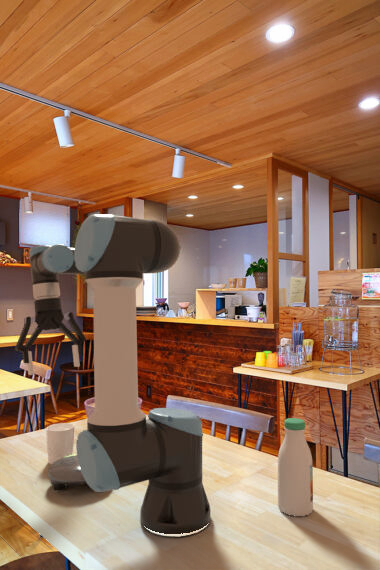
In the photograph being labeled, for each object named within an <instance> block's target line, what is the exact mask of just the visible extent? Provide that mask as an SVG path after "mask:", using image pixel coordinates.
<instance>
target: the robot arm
mask: <svg viewBox="0 0 380 570" xmlns="http://www.w3.org/2000/svg"><path fill="white" fill-rule="evenodd" d="M180 243H181V242H180V240H179V236H178V235H177V233H176V232H175V231H174V229H173V228H171V226H169V225H168V224H166V223H165V222H161V221H158V220H156V219H155V220H154V219H146V218H138V217H132V216H131V217H130V216H123V215H116V214H112V213H109V214H100V213H99V214H96V213H95V214H91V215H89V216H88V217H86V218H85V219H84V220H83V222H82V223H81V225H80V228H79V230H78V232H77V234H76V239H75V244H74V247H69V246H68V245H65V244H62V243H57V244H53V245H37V246H33V247H31V248H30V249H29V258H28V261H29V264H30V272H31V275H30V276H31V283H32V292H33V293H32V294H33V299H35V300H34V302H33V303H34V304H33V305H34V312H35V313H34V314H35V316H25V317H24V321H23V322H24V323H23V328H22V329H21V332H20V335H19V338H18V339H17V342H16V345H15V348H14V350H15V351H16V352H17V351H18V352H21V353H22V359H23V364H26V365H27V366H26V367H27V373H28V375H29V376H33V375H34V373H35V372H34V364H33V354H32V351H29V350H30V349H31V348H32V346H33V344H34V343H35V342H36V340H37V339H38V337H39V336H40V334H41V333H42V332H44V331H51V330H57V329H58V330H59V331H61V333H63V334H64V336H66V337H67V338H68V339H69V340H70V341H71V342H72V343H73V345H71V349H72V358H73V366H74V368H75V367H77V368H78V367H80V366H81V364H80V355H82V347H81V346H82V345H81V344H82V343H84V342H86V341H87V338H86V336H85V334H84V333H83V331H82V330H81V328H80V327H79V325H78V323H77V322H76V320H75V317H74V313H73V312H71V311H70V312H66V313H63V311H62V310H63V308H62V300H61V298H60V296H61V290H60V279H59V275H80V276H82V275H85V283H86V284H87V285H88V286H89V287H90V288H91V289H92V291H93V292H92V293H93V294H92V296H93V297H92V298H93V299H92V300H93V361H94V363H93V364H94V366H93V372H94V373H93V374H94V376H93V377H94V378H93V379H94V397H95V410H94V412H93V413H92V414H91V415H90V416H89V417H88V418H86V420H87V421H86V423H87V424H86V426H87V428H86V429H84V430H82V431H80V432H79V433H78V435H77V437H76V438H77V439H76V443H75V447H76V448H75V450H76V455H77V457H78V462H79V466H80V469H81V472H82V474H83V477H84V479H85V481H86V482H87V486H88V487H90V489H91V490H93V491H94V492H96V493H97V492H98V493H103V492H108V491H118V490H120V489H121V488H126V487H128V486H132V485H136V484H139V483H143V482H147V481H148V484H147V488H146V491H145V493H144V497H143V501H142V505H141V507H140V513H139V514H140V519H139V521H140V522H139V523H140V525H141V527H143V526H145V527H146V528H148V529H150V530H152V531H155V532H159V533H164V534H181V533H182V534H183V533H190V532H193V531H196V530H199V529H201V528H203V527H204V526H206V525H207V524H208V523H209V521H210V522H211V506H210V503H209V499H208V495H207V493H206V489H205V488H204V484H203V437H204V433H203V422H202V419H201V417H200V416H199V414H197V413H194V412H192V411H189V410H185V409H180V408H173V407H172V408H169V407H158V408H157V407H156V408H152V409H150V410H149V411H148V415H147V414H146V413H145V412H144V411H143V410H142V409H141V408H139V407H138V397H139V384H138V383H139V381H138V342H137V341H138V339H137V338H138V337H137V336H138V334H137V333H138V332H137V327H138V325H137V324H138V323H137V288H138V287H139V286H140V285H141V284H142V283H143V281H144V275H143V274H159V273H163V272H166V271H168V270H169V269H171V268H172V267H173V266H174V265H175V264H176V262H177V261H178V259H179V258H180V253H181V244H180ZM64 319H65V321H67V323H68V324H69V326H70V327H71V329H72V330H73V332H74V333H75V334H74V333H73V332H72V331H71V330H70V329H69V328H68V327H67V326H66V325H65V324H64V323H63V320H64ZM33 323H36V325H37V326H36V328H35V329H34V331H33V333H32V334H30V337H29V338H28V340H27V341H26V339H27V336H28V334H29V331H30V329H31V328H30V327H31V326H32V325H33ZM25 341H26V343H25ZM147 417H148V418H147ZM209 524H210V523H209Z"/></svg>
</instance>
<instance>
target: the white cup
mask: <svg viewBox="0 0 380 570" xmlns="http://www.w3.org/2000/svg"><path fill="white" fill-rule="evenodd" d="M74 439H75V425H74V424H73V423H69V422H60V423H53V424H50V425H47V427H46V452H47V460H48V461H47V462H48V464H49V466H50V465H51V464H52V463H54V462H55V461H57V460H60V459H62V458H64V456H68V455H73V452H74V442H75V441H74Z"/></svg>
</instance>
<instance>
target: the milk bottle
mask: <svg viewBox="0 0 380 570" xmlns="http://www.w3.org/2000/svg"><path fill="white" fill-rule="evenodd" d="M283 422H284V423H283V424H284V430H285V435H284V439H283V441H282V443H281V445H280V447H279V451H278V455H277V506H278V509H279V510H280V512H282V513H283V512H284V513H283V514H285V513H286V514H285V515H287V514H290V515H295V516H294V517H296V516H303V517H306V516H305V515H307V516H309V515H311V514H312V513H313V510H314V477H313V475H314V472H313V470H314V469H313V468H314V467H313V466H314V465H313V457H312V452H311V448H310V446H309V444H308V442H307V440H306V436H305V431H306V421H305V420H304V419H302V418H298V417H297V418H296V417H291V418H290V417H288V418H286V419H285V420H284V421H283ZM310 513H311V514H310ZM308 514H309V515H308ZM290 515H289V516H290Z"/></svg>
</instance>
